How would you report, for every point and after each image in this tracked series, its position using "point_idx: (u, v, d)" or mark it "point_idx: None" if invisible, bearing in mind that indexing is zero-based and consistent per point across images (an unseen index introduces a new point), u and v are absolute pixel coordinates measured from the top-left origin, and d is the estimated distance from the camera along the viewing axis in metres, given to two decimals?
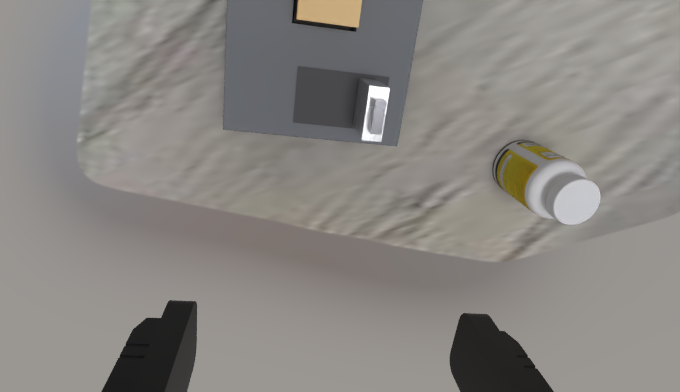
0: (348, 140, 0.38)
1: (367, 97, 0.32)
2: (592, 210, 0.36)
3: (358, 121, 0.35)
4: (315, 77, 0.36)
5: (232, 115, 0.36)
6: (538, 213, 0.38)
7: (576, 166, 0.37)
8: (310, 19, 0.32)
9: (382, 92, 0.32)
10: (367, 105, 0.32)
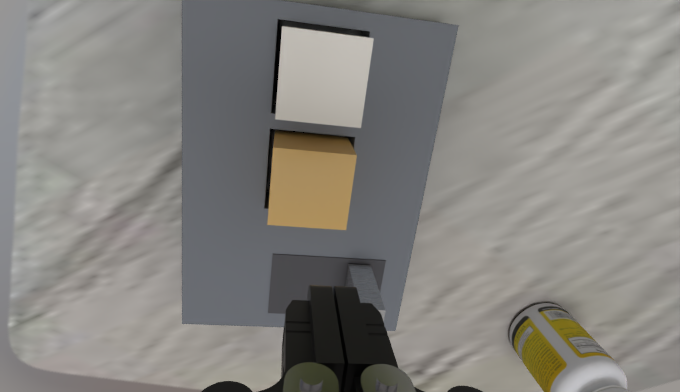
0: None
1: None
2: None
3: None
4: (294, 264, 0.29)
5: (193, 308, 0.30)
6: None
7: (614, 368, 0.30)
8: (284, 224, 0.25)
9: None
10: None
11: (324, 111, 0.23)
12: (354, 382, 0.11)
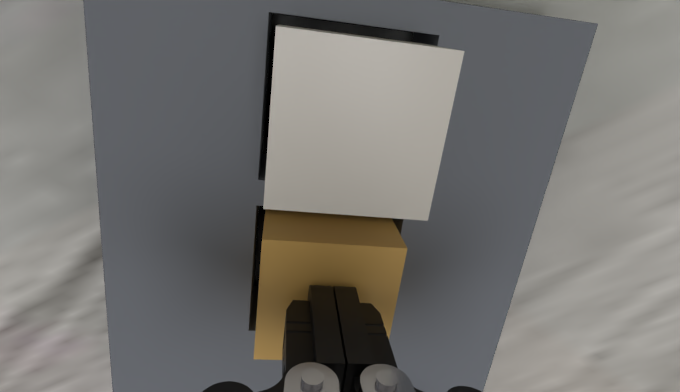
0: None
1: None
2: None
3: None
4: None
5: None
6: None
7: None
8: None
9: None
10: None
11: (360, 192, 0.12)
12: (353, 382, 0.11)
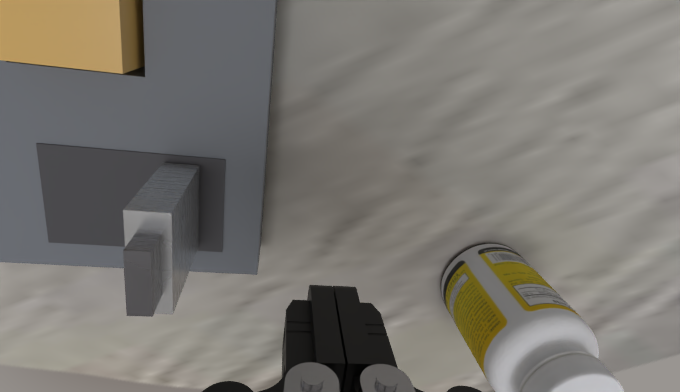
0: None
1: None
2: None
3: None
4: (77, 163, 0.19)
5: None
6: None
7: (578, 327, 0.20)
8: (16, 58, 0.16)
9: (156, 222, 0.15)
10: None
11: None
12: (353, 382, 0.11)
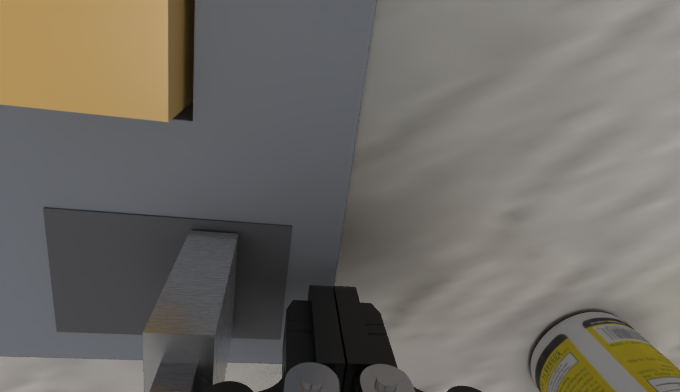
0: None
1: None
2: None
3: None
4: (97, 232, 0.14)
5: None
6: None
7: None
8: (18, 101, 0.11)
9: (191, 347, 0.10)
10: (147, 382, 0.10)
11: None
12: (353, 382, 0.11)
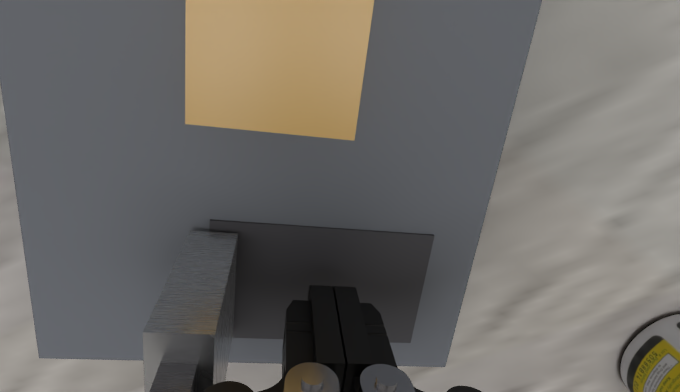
0: None
1: None
2: None
3: None
4: (254, 242, 0.15)
5: (58, 329, 0.15)
6: None
7: None
8: (223, 123, 0.12)
9: (191, 347, 0.10)
10: (147, 382, 0.10)
11: None
12: (353, 382, 0.11)
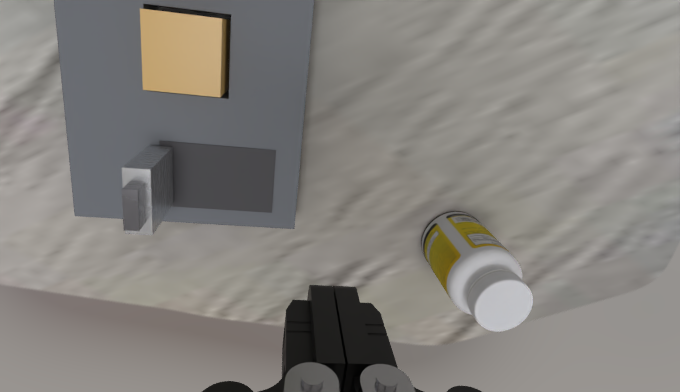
0: (233, 223, 0.32)
1: None
2: (524, 314, 0.29)
3: None
4: (182, 153, 0.30)
5: (84, 199, 0.30)
6: (464, 311, 0.31)
7: (506, 256, 0.30)
8: (159, 89, 0.26)
9: (141, 175, 0.24)
10: None
11: None
12: (353, 382, 0.11)
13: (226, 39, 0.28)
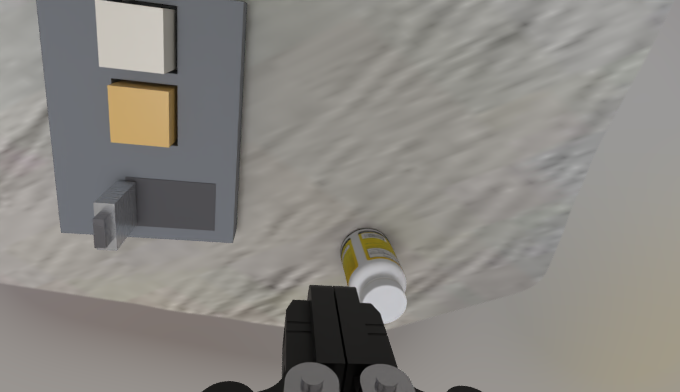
0: (184, 239, 0.41)
1: None
2: (400, 311, 0.38)
3: None
4: (143, 186, 0.39)
5: (68, 220, 0.39)
6: None
7: (391, 267, 0.39)
8: (123, 142, 0.35)
9: (107, 207, 0.34)
10: None
11: (135, 61, 0.32)
12: (353, 382, 0.11)
13: (175, 102, 0.37)
